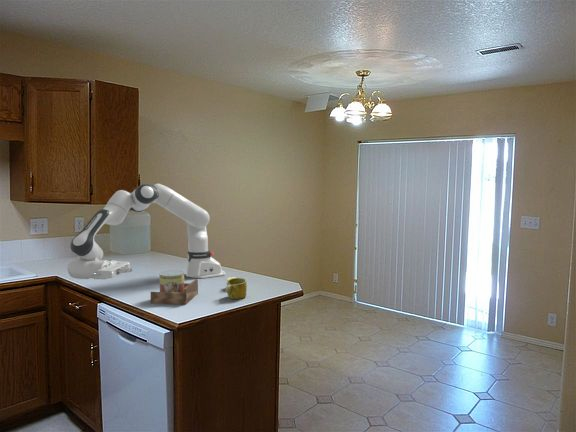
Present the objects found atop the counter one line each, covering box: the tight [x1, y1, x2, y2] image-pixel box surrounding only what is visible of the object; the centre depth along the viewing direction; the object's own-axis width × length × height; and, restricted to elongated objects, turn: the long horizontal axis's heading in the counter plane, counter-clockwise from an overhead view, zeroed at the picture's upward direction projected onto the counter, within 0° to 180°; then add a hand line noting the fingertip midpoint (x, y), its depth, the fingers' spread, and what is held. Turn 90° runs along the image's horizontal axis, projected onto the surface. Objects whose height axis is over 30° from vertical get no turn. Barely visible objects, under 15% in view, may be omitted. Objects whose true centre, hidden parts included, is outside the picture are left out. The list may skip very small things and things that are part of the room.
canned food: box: [158, 270, 185, 293], centre depth 201 cm, size 11×11×12 cm
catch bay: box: [150, 278, 199, 305], centre depth 202 cm, size 16×18×7 cm
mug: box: [225, 277, 248, 300], centre depth 204 cm, size 12×10×10 cm
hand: (131, 269), depth 203 cm, fingers closed
